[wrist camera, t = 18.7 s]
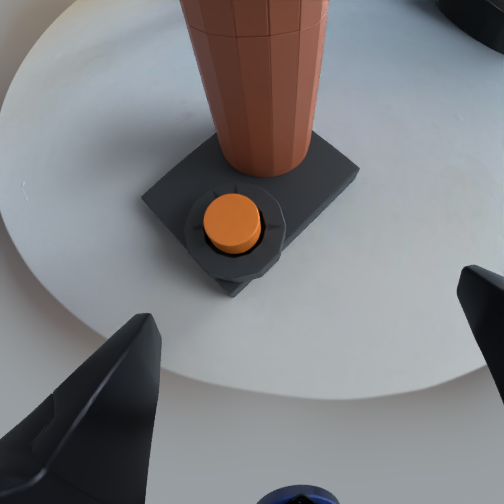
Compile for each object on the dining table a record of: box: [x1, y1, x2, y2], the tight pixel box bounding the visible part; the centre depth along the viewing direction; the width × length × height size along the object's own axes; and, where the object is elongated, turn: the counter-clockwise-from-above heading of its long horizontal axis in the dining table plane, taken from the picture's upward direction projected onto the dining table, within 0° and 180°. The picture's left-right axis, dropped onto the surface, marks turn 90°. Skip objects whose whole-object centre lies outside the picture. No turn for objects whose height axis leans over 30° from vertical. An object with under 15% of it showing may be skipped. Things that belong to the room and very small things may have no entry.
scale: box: [141, 131, 360, 298], centre depth 21 cm, size 13×10×4 cm
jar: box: [180, 0, 329, 178], centre depth 15 cm, size 7×7×14 cm
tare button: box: [203, 194, 261, 254], centre depth 18 cm, size 3×3×2 cm
